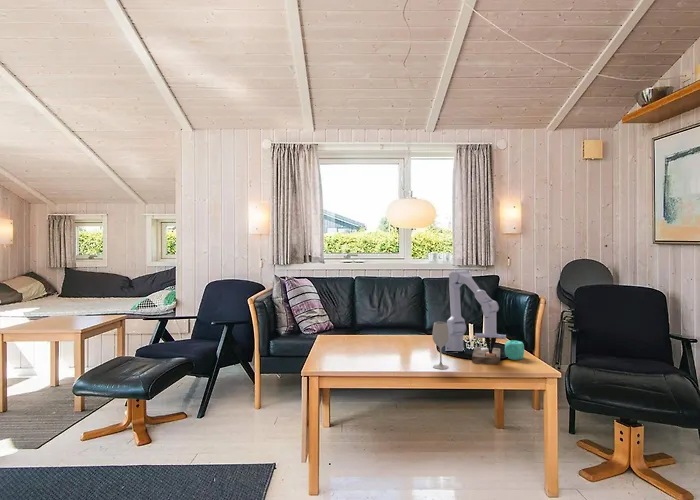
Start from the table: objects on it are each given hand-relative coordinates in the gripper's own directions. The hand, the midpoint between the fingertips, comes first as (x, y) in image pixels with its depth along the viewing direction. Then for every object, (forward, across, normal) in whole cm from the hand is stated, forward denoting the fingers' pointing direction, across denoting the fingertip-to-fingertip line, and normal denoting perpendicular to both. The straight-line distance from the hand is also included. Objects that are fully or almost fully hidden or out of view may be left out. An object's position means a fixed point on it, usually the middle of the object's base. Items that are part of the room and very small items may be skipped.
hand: (490, 353), depth 222 cm
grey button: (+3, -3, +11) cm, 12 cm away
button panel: (+4, -2, +5) cm, 7 cm away
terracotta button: (+3, 0, 0) cm, 3 cm away
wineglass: (+4, -22, -18) cm, 29 cm away
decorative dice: (+4, +11, +10) cm, 15 cm away
